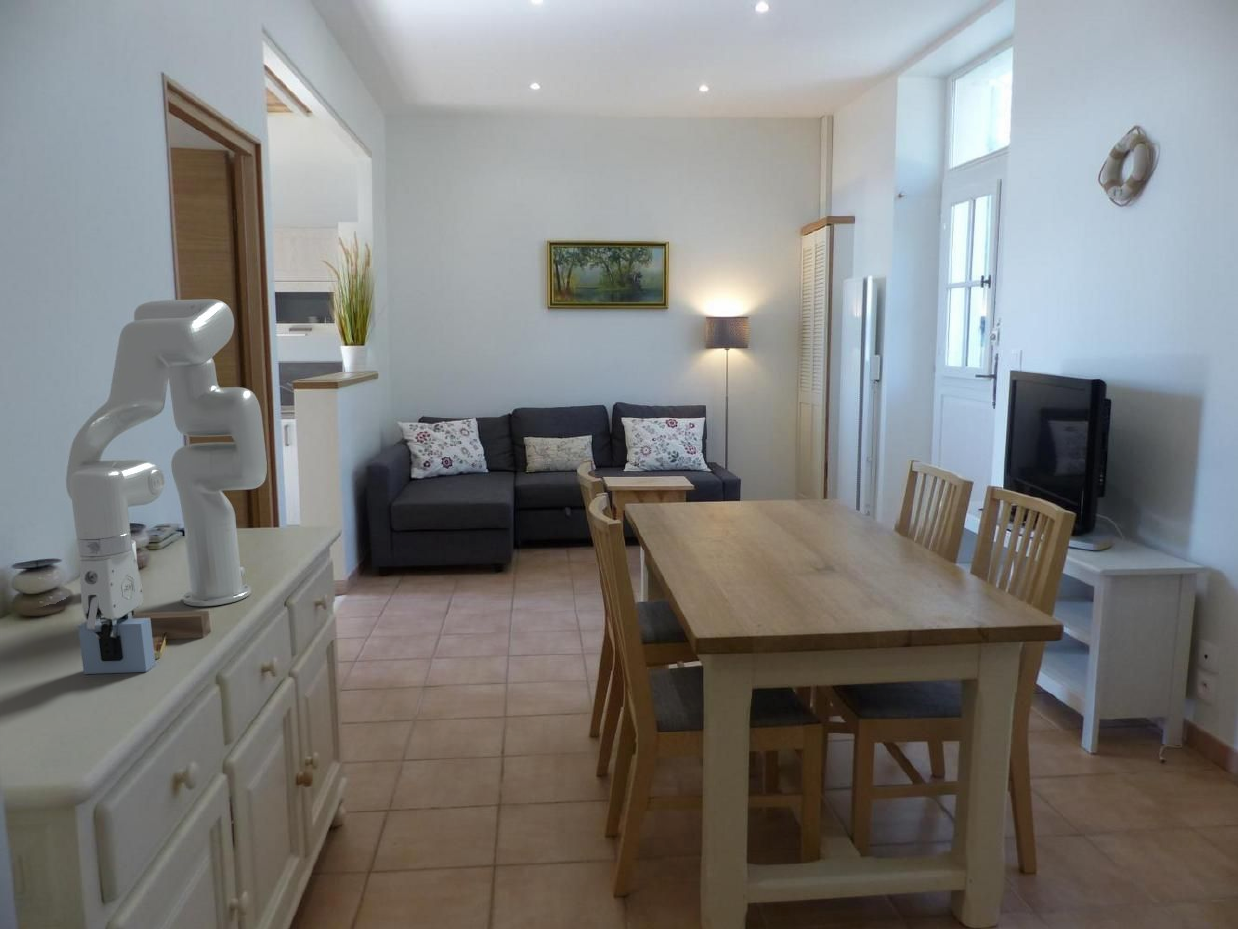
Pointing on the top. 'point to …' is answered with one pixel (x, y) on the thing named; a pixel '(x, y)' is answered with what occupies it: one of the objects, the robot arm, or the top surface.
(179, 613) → the bar
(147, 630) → the block
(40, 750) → the top surface
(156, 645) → the shard
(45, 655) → the top surface
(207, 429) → the robot arm
